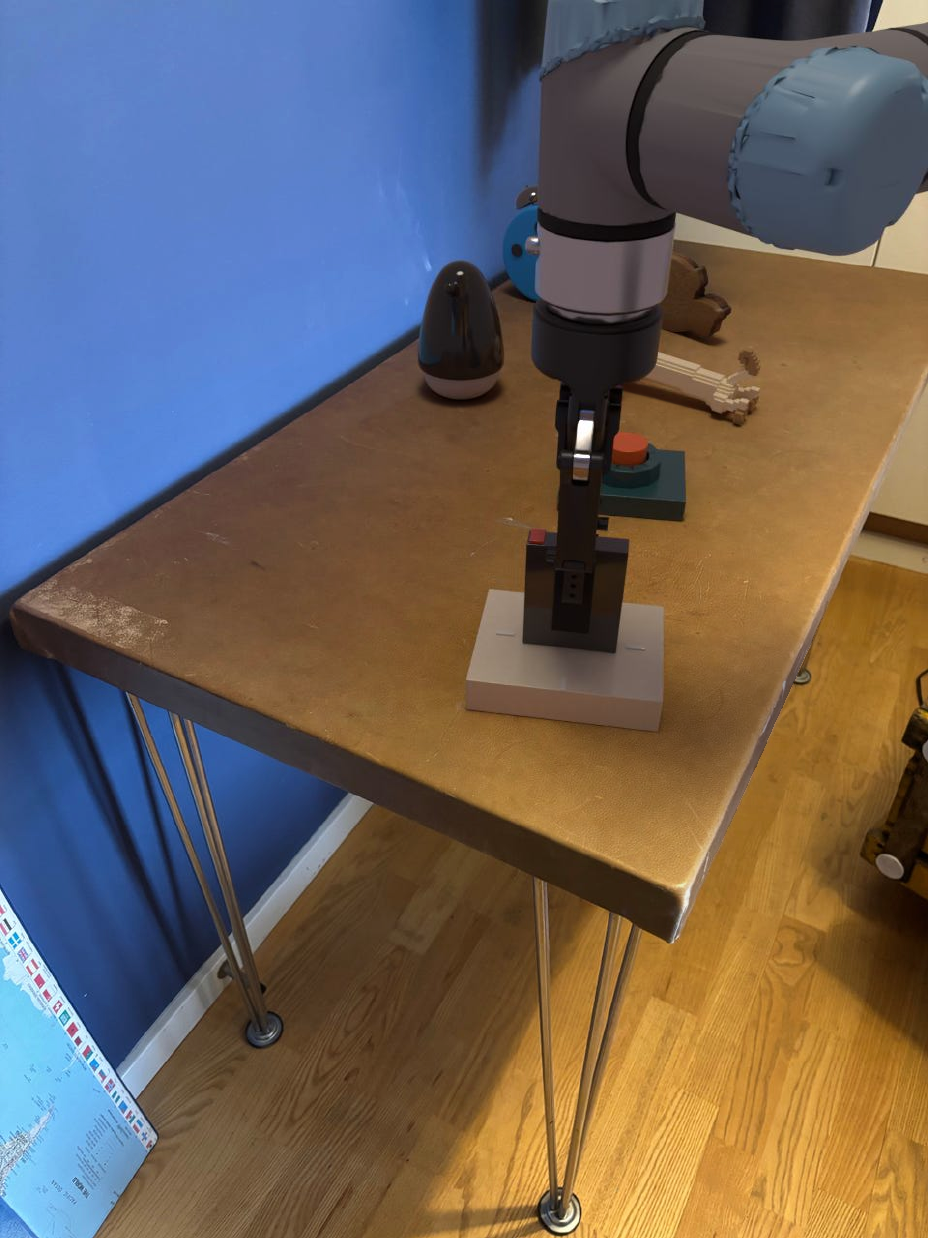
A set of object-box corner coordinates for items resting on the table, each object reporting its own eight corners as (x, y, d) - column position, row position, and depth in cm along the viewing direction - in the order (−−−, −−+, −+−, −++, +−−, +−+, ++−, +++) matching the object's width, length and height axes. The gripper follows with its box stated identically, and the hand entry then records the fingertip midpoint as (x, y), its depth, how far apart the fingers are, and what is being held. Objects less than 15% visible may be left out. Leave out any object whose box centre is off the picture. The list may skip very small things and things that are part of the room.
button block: (681, 469, 94) (687, 434, 92) (682, 521, 87) (688, 485, 84) (566, 460, 96) (568, 426, 94) (557, 510, 89) (559, 474, 86)
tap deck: (659, 634, 74) (664, 603, 72) (657, 733, 65) (663, 701, 63) (488, 616, 76) (489, 586, 74) (465, 710, 67) (465, 678, 65)
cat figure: (758, 410, 108) (572, 349, 117) (780, 339, 102) (582, 282, 111) (729, 444, 101) (534, 377, 110) (750, 371, 95) (542, 307, 105)
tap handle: (617, 638, 69) (629, 535, 63) (615, 653, 67) (629, 550, 62) (525, 628, 70) (529, 526, 64) (521, 643, 68) (526, 541, 63)
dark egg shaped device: (408, 405, 107) (401, 273, 97) (431, 369, 115) (427, 244, 105) (493, 414, 105) (494, 280, 95) (511, 376, 113) (514, 250, 103)
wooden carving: (733, 339, 121) (747, 263, 115) (714, 349, 119) (727, 271, 112) (634, 308, 130) (641, 236, 124) (614, 317, 128) (621, 243, 122)
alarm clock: (597, 301, 133) (606, 191, 123) (574, 314, 129) (582, 201, 119) (522, 283, 139) (526, 177, 129) (499, 295, 135) (501, 186, 126)
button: (646, 449, 90) (648, 433, 89) (645, 469, 87) (647, 453, 86) (605, 446, 91) (607, 430, 90) (603, 466, 88) (605, 449, 87)
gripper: (547, 256, 59) (532, 556, 73) (516, 345, 47) (507, 679, 62) (665, 261, 58) (626, 565, 72) (663, 354, 46) (618, 692, 61)
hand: (571, 617), depth 67 cm, fingers closed on tap handle, 2 cm apart
